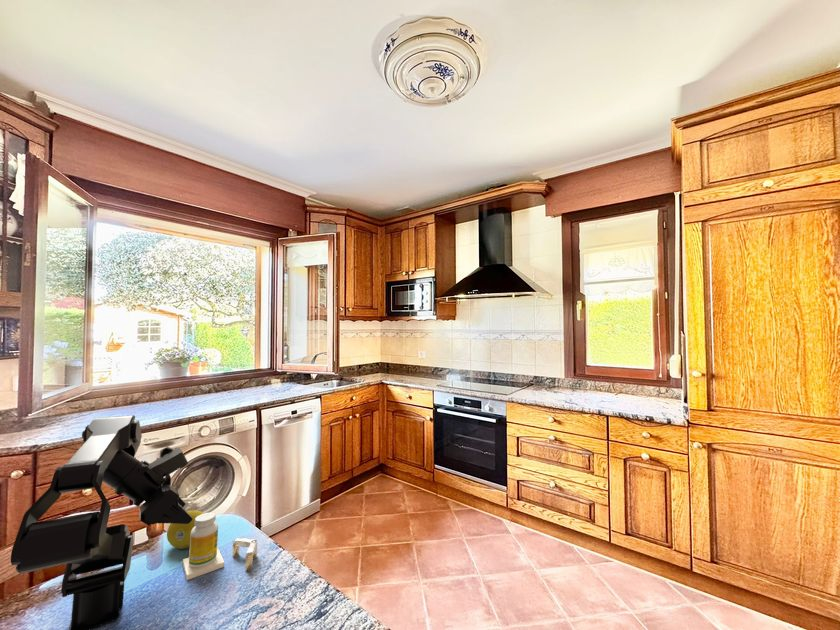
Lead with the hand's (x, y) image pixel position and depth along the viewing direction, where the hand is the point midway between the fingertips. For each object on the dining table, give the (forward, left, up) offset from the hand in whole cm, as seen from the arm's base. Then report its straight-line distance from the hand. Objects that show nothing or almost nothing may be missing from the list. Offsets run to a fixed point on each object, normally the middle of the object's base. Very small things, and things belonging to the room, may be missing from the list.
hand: (187, 513), depth 75 cm
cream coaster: (+4, +1, -13) cm, 13 cm away
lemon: (+2, +12, -13) cm, 18 cm away
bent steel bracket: (+11, -3, -13) cm, 17 cm away
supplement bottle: (+4, +1, -12) cm, 13 cm away
